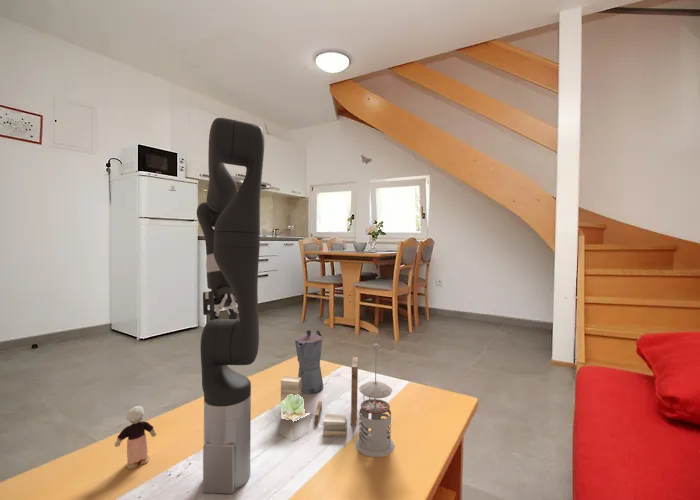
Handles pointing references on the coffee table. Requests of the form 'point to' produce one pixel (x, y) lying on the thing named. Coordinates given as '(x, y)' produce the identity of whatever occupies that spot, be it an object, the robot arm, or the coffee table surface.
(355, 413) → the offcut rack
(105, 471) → the coffee table surface
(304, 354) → the moka pot
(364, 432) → the french press
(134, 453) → the grandmother figurine
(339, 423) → the offcut stack
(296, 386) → the light wooden block
